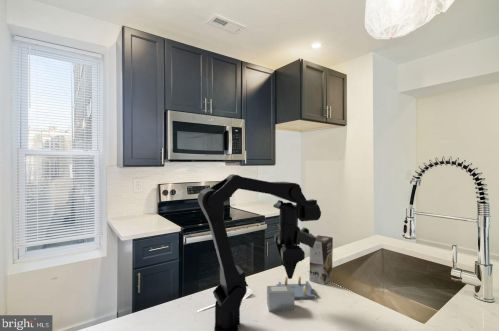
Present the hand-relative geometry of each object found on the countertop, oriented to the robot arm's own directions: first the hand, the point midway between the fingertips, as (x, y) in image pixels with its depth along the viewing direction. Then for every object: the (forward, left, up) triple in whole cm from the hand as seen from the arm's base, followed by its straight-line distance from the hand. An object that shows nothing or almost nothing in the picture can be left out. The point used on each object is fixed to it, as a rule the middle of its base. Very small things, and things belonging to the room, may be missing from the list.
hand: (287, 272), depth 80 cm
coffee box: (+18, +21, -12) cm, 30 cm away
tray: (+5, +11, -12) cm, 17 cm away
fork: (-19, +6, -13) cm, 24 cm away
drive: (-2, +2, -12) cm, 12 cm away
